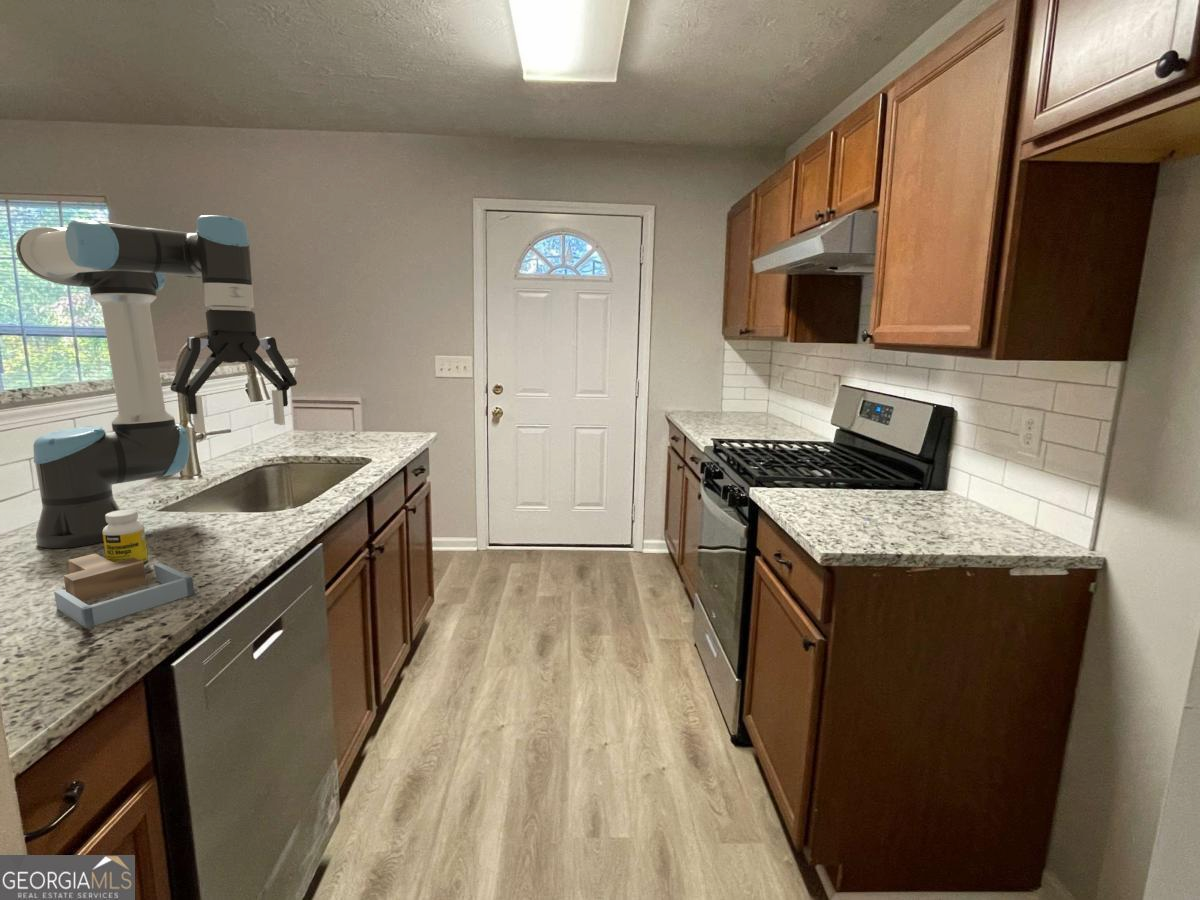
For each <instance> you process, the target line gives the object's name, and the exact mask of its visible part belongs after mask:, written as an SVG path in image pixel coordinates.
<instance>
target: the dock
mask: <svg viewBox="0 0 1200 900" xmlns="http://www.w3.org/2000/svg"><path fill="white" fill-rule="evenodd" d="M153 569H154V575H155V576H154V577H155V581H157V582H158V583H161V584H158V585H154V586H151V587H149V588H145V589H141V590H137V591H134V592H131V593H127V594H125V595H121V596H117V597H113V598H110V599H106V600H103V601H100V602H97V603H93V604H90V605H88V604H87V603H85V601H83V602H82V601H81V600H79V599H77V598H76V597H74V596H72V595H71V594H69V593H68V592H66V590H64V589H63V588H62V589H61V588H60V589H58V590H54V591H53V594H54V599H55V605H56V609H57V610H59V611H60V612H61V613H63V614H64V615H66V616H67V617H69V618H71V619H72V620H74V621H75V622H76V623H78V624H80V625H81V626H82V627H84V628H85V629H88V628H91V627H94V626H97V625H101V624H104V623H107V622H111V621H113V620H117V619H119V618H123V617H126V616H129V615H132V614H135V613H138V612H139V613H140V612H141V611H145V610H147V609H151V608H154V607H159V606H161V605H164V604H168V603H170V602H172V601H173V602H174V601H177V600H180V599H183V598H186V597H189V596H193V595H195V586H194V578H193V577H192V576H190V575H189V574H186V573H184V572H181V571H180V570H177V569H175V568H172V567H171V566H168V565H165V564H163V563H162V562H157V563H154V564H153Z"/></svg>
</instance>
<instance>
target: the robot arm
mask: <svg viewBox="0 0 1200 900" xmlns="http://www.w3.org/2000/svg"><path fill="white" fill-rule="evenodd" d="M250 243H251V242H250V240H249V237H248V228H247V224H246V223H245V222H244V221H243V220H242V219H240V218H237V217H232V216H225V215H213V214H211V215H210V214H209V215H208V214H207V215H206V214H205V215H200V216H198V218H197V219H196V229H195V232H186V231H180V230H179V231H177V230H171V229H170V230H168V229H161V228H153V227H141V226H135V225H134V226H133V225H126V224H118V223H111V222H103V221H101V220H97V219H95V220H91V219H89V220H88V219H87V220H86V219H73V220H71V221H69V223H68V224H67V227H60V226H59V227H57V226H51V227H49V226H48V227H44V226H43V227H39V228H38V227H37V228H36V227H35V228H32V229H29V230H27V231H25V232H23V234H22V235H20V236H19V238H18V240H17V242H16V246H15V247H16V248H15V251H16V256H17V258H18V260H19V262H20V263H21V265H22V266H23V267H24V268H25V269H26V270H28V271H29V272H30V273H31V274H33V275H35V276H37V277H38V278H40V279H43V280H45V281H48V282H51V283H55V284H58V285H63V286H67V287H68V286H71V287H82V288H83V287H85V288H89V291H90V292H89V293H90V297H91V298H92V299H93V300H95V301H97V303H99V304H100V305H101V310H102V317H103V323H104V329H105V336H106V343H107V348H108V354H109V360H110V366H111V372H112V374H111V375H112V379H113V380H112V381H113V388H114V391H115V398H116V404H117V411H118V415H117V416H116V417H115V418H114V419H113V420H112V421H111V428H112V430H111V431H105V429H104V428H103V427H102V426H99V425H88V426H80V427H72V428H65V429H61V430H57V431H53V432H49V433H46V434H44V435H41V436H39V437H38V438H37V439H36V440H34V442H33V445H32V446H33V447H32V448H33V463H34V464H35V471H36V475H37V481H38V487H39V492H40V493H39V495H40V498H41V504H42V505H41V507H42V508H41V512H40V516H39V520H38V524H37V528H36V532H35V539H36V545H37V546H38V547H40V548H43V549H44V548H46V549H66V548H75V547H76V548H77V547H78V548H79V547H83V546H90V545H95V544H99V543H104V540H103V529H104V528H105V527H106V526H107V525H108V523H107V522H106V517H105V515H106V514H107V513H110V512H113V511H118V510H121V509H120V507H119V505H118V504H117V502H116V500H115V499H114V494H113V485H117V484H122V483H123V484H125V483H130V482H135V481H142V480H148V479H154V478H156V479H157V478H158V479H161V478H164V477H166V476H171V475H175V474H179V473H180V472H181V471H183V470H184V469H185V467H186V464H188V460H189V455H190V440H189V436H188V434H187V430H186V428H185V427H184V426H183V425H181V424H179V423H176V420H175V417H174V416H173V415H171V414H170V413H168V412H167V410H166V406H165V399H164V393H163V386H162V380H161V374H160V373H161V371H160V366H159V359H158V353H157V346H156V345H157V344H156V340H155V339H156V338H155V331H154V324H153V320H152V319H153V318H152V312H151V304H152V303H153V302H154V301H155V300H156V299H157V297H158V296H157V292H159V291H161V290H162V289H163V288H164V287H165V283H166V282H165V279H166V275H173V276H182V277H186V278H197V279H200V278H202V279H201V281H202V287H203V290H202V291H203V300H204V302H203V303H204V306H205V307H207V308H209V309H208V310H207V309H206V311H205V319H206V328H207V329H206V330H207V337H206V338H200V337H198V336H189V337H188V338H187V340H186V341H187V344H186V345H187V346H186V349H187V350H186V351H185V354H184V357H183V358H182V359H181V360H182V361H181V363H180V364H179V367H178V370H177V372H176V374H175V375H174V376H175V377H174V379H173V380H172V383H171V385H170V391H172V392H175V393H179V394H182V395H183V397H184V404H185V410H186V414H188V415H192V418H193V419H192V420H193V428H194V430H193V431H194V432H195V433H198V434H206V426H205V417H204V415H205V414H204V406H203V397H202V395H201V394H200V395H199V394H198V392H199V391H200V390H201V388H202V387H203V385H204V384H205V383H206V381H207V380H208V379H209V378H210V377H211V375H212V374H213V373H214V371H216V369H217V368H218V367H219V366H221V364H222V363H225V364H226V363H227V364H233V363H248V362H249V363H250V364H251V365H252V366H254V368H255V369H256V370H257V371H259V372H260V374H262V375H263V376H264V377H265V378H266V380H268V381H269V383H271V384H272V385H273V386H274V388H276V389H271V398H272V408H273V409H272V411H273V421H274V424H275V425H279V426H284V425H285V424H286V420H285V409H284V408H285V407H288V404H289V401H288V391H289V390H290V388H291V387H295V386H297V384H298V383H297V380H296V378H295V376H294V374H293V373H292V371H291V369H290V368H289V366H288V365H287V363H286V361H285V359H284V357H283V356H282V354H281V353H280V351H279V350H278V345H277V341H276V338H275V337H273V336H265V337H263V338H262V337H261V338H258V336H257V323H256V322H257V321H256V314H255V312H254V311H253V310H251V309H253V308H254V307H255V302H254V301H255V300H254V291H253V290H254V289H253V283H252V282H253V280H252V268H251V265H252V263H251V255H250V254H251V253H250ZM206 346H207V348H208V349H209V350H210V351H211V353H210V354H209V356H208V357H207V358H206V361H204V363H203V364H202V366H201V367H200V368H199V370H198V371H197V372H196V373H195V374H194V376H193V377H192V378H191V379H190V377H191V374H192V373H193V370H194V367H195V365H196V363H197V361H198V358H199V356H200V354H201V351H204V349H205V347H206ZM260 346H261V348H262V349H263V350H265V352H266V354H267V356H268V358H269V359H270V361H271V363H272V364H273V366H274V368H275V369H276V370H277V373H278V374H279V375H278V374H277V373H276V372H275V371H274V370H273V368H272V367H270V366H269V365H268V364H267V363H266V362H265V361H264V360H263V358H262V357H261V356H260V354H259V353H257V350H258V348H259V347H260ZM189 379H190V381H189V382H188V380H189Z"/></svg>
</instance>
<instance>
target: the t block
mask: <svg viewBox="0 0 1200 900" xmlns="http://www.w3.org/2000/svg"><path fill="white" fill-rule="evenodd" d="M67 564H68V569H69V573H67V574H63V580H64V581H63V582H64V586H65V591H66V592H68V593H69V594H71V595H72V596H74V597H76V598H77V599H79V600H81V601H82V602H86V601H90V600H92V599H93V600H94V599H96V598H99V597H104V596H107V595H110V594H113V593H117V592H122V591H124V590H127V589H130V588H134V587H138V586H141V585H145V584H147V579H146V572H145V571H146V570H145V568H144V563H143V562H142V561H140V560H138V559H136V558H134V557H133V558H129V559H125V560H122V561H118V562H112V561H109V560H107V559H106V557H103V556H101V555H99V554H97V553H92V554H87V555H84V556H80V557H79V556H78V557H75V558H71V559H68V560H67Z"/></svg>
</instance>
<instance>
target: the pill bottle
mask: <svg viewBox="0 0 1200 900" xmlns="http://www.w3.org/2000/svg"><path fill="white" fill-rule="evenodd" d="M105 517H106V522H107V523H108V525H107V526H106V527H105V528H104V529H103V540H104V542H103V545H104V546H103V548H104V554H105V559H107V560H109V561H112V562H118V561H122V560H125V559H129V558H133V557H134V558H136V559H138V560H140V561H142V562H143V563H144V569H146V568H147V567H148V566H149V556H148V549H147V540H146V532H145V526H144V523H142V522H141V521H139V520H138V519H139V518H138V517H139V515H138V511H137V510H136V509H120V510H118V511H113V512H110V513H107V514H106V515H105Z"/></svg>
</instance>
